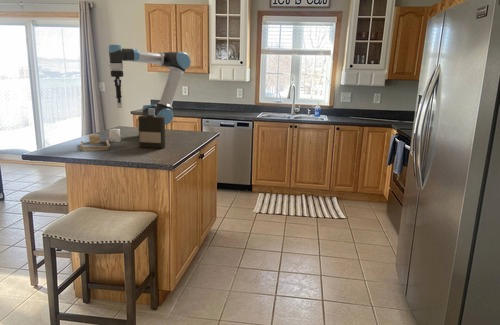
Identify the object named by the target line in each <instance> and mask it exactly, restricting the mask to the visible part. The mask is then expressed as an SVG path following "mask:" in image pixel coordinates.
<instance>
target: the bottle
mask: <svg viewBox="0 0 500 325" xmlns="http://www.w3.org/2000/svg"><path fill="white" fill-rule="evenodd" d="M137 118H138V120H137V121H138V146H139V148H140V149H158V150H159V149H160V150H162V149H165V148H166V125H165V117H164V116H156V115H155V109H154V108H148V116H145V115H143V114H142V115H139V116H138V117H137Z"/></svg>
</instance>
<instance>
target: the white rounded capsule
mask: <svg viewBox="0 0 500 325" xmlns="http://www.w3.org/2000/svg"><path fill="white" fill-rule="evenodd" d="M108 134H109V143H120V142H121V141H122V140H121V129H120V128H110V129H108Z"/></svg>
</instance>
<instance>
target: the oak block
mask: <svg viewBox="0 0 500 325" xmlns="http://www.w3.org/2000/svg"><path fill="white" fill-rule="evenodd" d="M88 139H89V144H90V145H93V144H100V143H101V140H100V139H101V138H100V134H89V136H88Z"/></svg>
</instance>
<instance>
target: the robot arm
mask: <svg viewBox="0 0 500 325" xmlns="http://www.w3.org/2000/svg"><path fill="white" fill-rule="evenodd" d="M108 57H109V65H108V66H109V67H110V77H112V78H113V77H114V79H113V82H114V86H115V94H116V96H115V98H116V106H117V108H118V109H122V108H123V103H122V98H123V96H122V88H121V87H122V80H121V78H123V77H124V71H123V70H124V63H123V62H132V63H133V62H134V63H143V64H152V65H153V64H154V65H157V66H159V67H167V68H168V69H169V73H168V75H167V78H166V82H165V85H164V88H163V90H162V94H161V96H160V100H159V102H156V104H145V105H142V115H145V116H148V108H154V109H155V115H156V116H164V117H165V126H166V125H168V124H170V123H172V121H173V119H174V112H173V102H174V99H175V96H176V94H177V90H178V86H179V84H180V81H181V76H182V75H184V74H185V72H186V70H187V69H189V68H190V66H191V64H192V63H191V58H190V56H189V54H188V53H186V52H184V51H168V52H161V51H160V52H150V51H149V52H148V51H141V50H139V49H137V48H123V47H122V45H121V44H109V45H108Z"/></svg>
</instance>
